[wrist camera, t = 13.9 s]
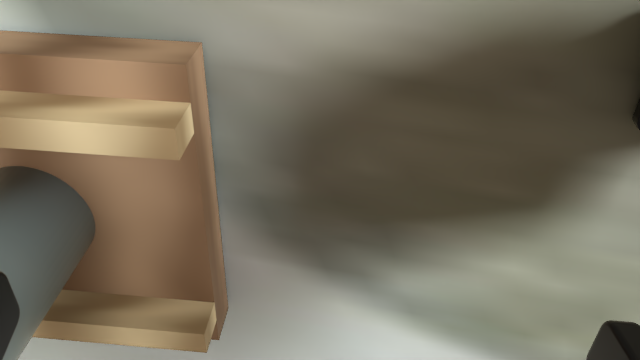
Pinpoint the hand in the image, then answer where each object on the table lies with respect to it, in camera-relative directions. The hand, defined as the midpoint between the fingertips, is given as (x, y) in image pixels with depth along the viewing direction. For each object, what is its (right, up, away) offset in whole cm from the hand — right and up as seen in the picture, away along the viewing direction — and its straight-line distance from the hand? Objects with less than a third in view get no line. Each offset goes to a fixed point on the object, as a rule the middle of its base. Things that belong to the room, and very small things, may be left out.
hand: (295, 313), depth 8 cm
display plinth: (-10, +2, +16) cm, 19 cm away
